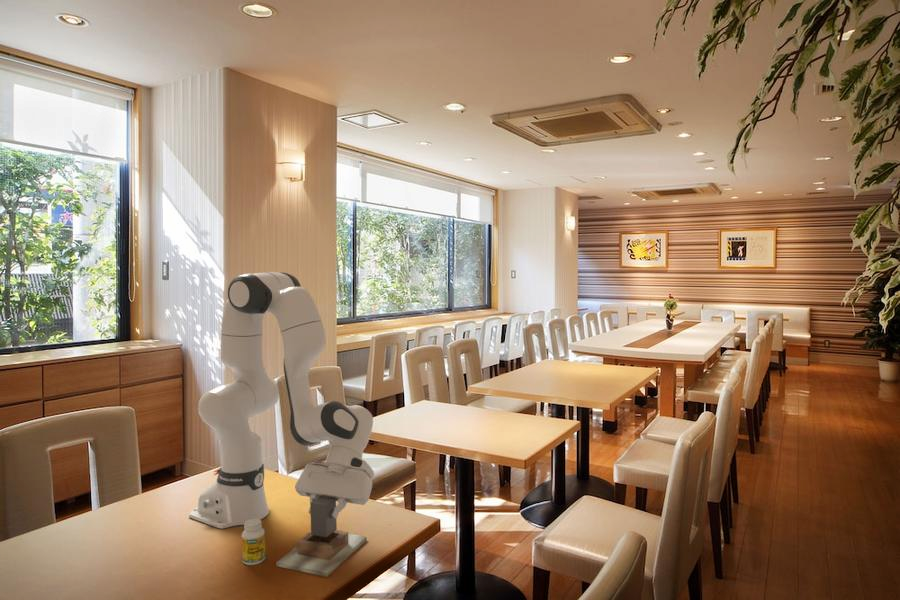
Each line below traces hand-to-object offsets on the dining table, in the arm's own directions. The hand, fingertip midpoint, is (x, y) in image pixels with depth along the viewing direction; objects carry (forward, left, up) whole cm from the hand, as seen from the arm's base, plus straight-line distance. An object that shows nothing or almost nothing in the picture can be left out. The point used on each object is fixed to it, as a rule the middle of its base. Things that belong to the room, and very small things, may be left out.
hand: (322, 515), depth 144 cm
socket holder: (0, +1, -10) cm, 10 cm away
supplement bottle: (-14, -8, -10) cm, 19 cm away
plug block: (0, +1, -4) cm, 4 cm away
